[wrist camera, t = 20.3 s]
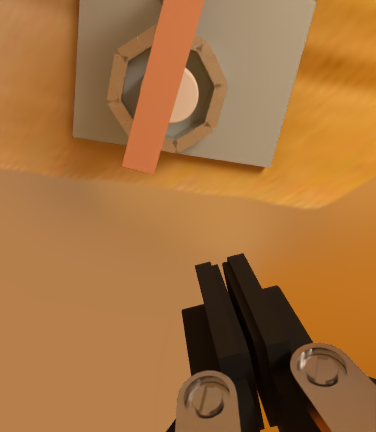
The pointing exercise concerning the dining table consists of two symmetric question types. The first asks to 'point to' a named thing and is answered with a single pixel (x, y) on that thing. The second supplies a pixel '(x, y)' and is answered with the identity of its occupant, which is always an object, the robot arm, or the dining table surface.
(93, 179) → the dining table surface
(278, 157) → the dining table surface
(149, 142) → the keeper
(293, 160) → the dining table surface
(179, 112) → the supplement bottle
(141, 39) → the socket
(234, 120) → the board
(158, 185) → the dining table surface
